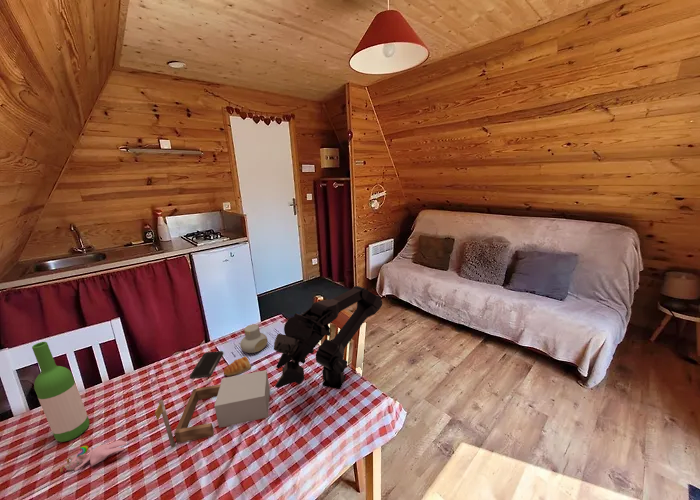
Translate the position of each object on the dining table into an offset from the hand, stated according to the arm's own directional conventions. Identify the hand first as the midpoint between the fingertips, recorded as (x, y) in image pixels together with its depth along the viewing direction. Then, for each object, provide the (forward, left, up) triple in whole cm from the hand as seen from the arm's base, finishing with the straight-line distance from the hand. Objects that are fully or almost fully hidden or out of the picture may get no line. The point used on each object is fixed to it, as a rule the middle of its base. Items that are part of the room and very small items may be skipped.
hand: (276, 377), depth 93 cm
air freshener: (+26, -23, -9) cm, 36 cm away
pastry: (+24, -10, -9) cm, 27 cm away
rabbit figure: (+37, +32, -9) cm, 50 cm away
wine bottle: (+54, +27, -9) cm, 61 cm away
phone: (+38, -9, -10) cm, 40 cm away
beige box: (+9, +5, -9) cm, 14 cm away
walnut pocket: (+20, +14, -9) cm, 26 cm away
